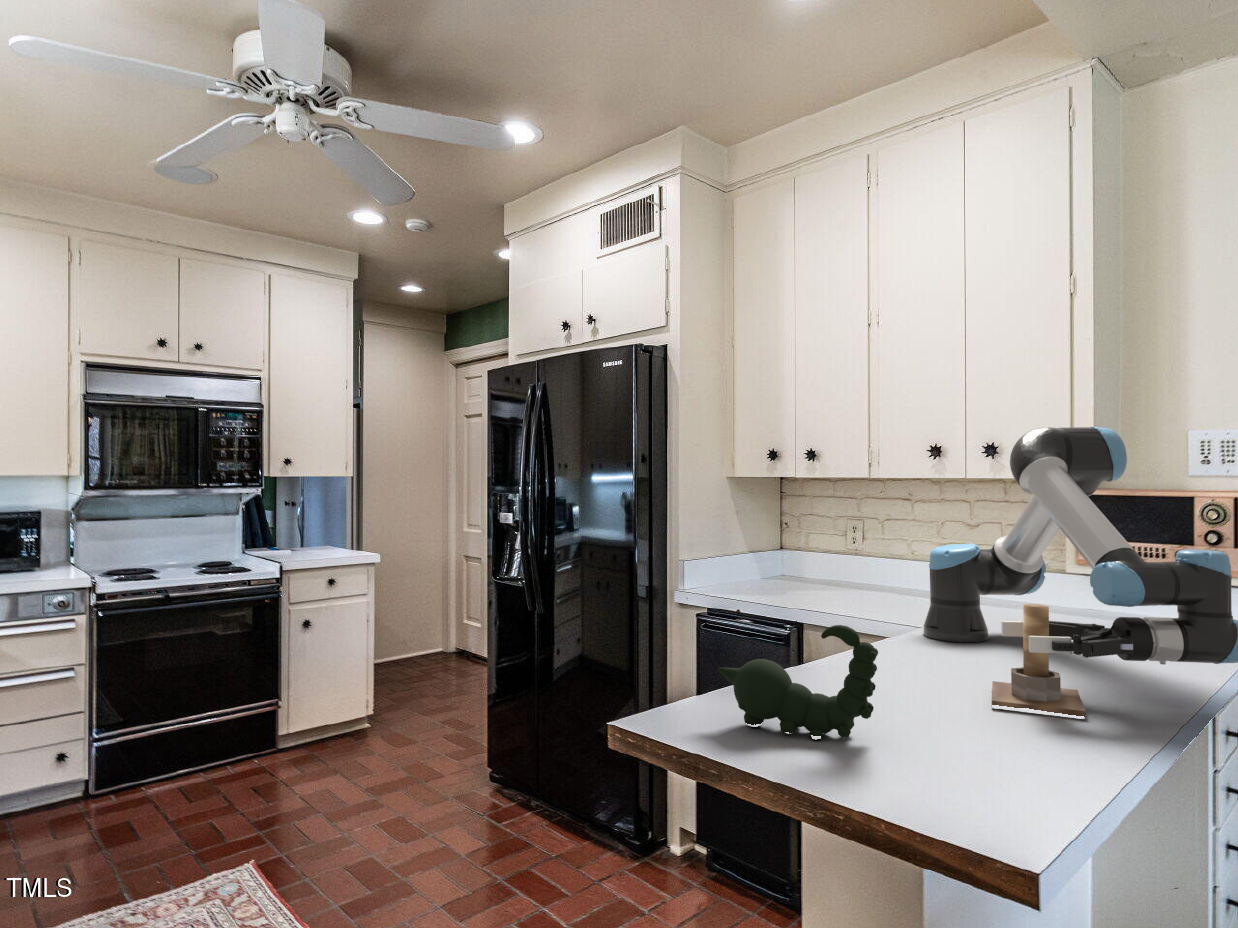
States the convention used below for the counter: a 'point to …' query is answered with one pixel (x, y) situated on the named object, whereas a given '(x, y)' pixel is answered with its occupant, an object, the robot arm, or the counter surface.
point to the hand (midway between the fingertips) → (1014, 635)
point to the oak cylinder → (1035, 626)
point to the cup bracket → (1037, 694)
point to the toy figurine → (806, 691)
